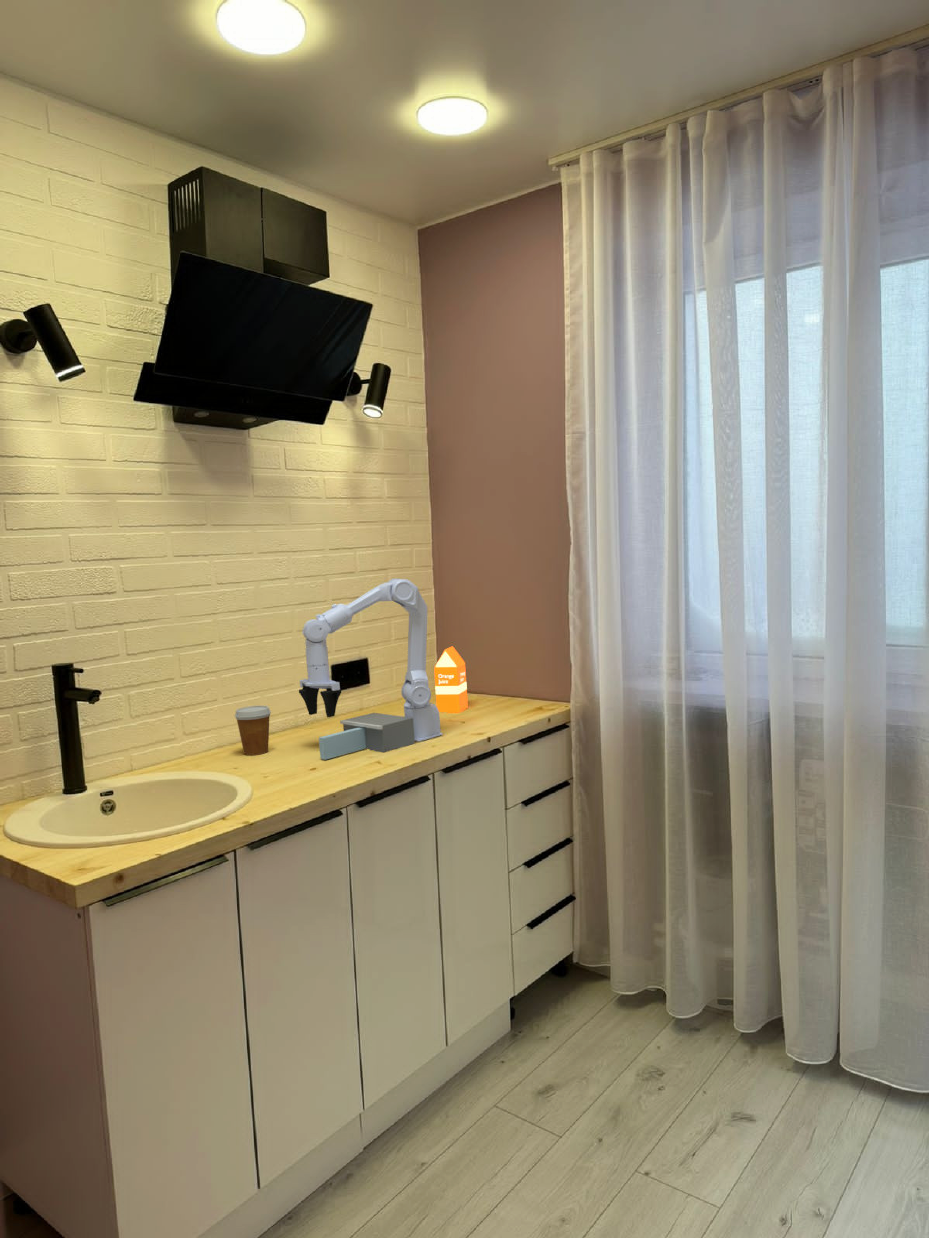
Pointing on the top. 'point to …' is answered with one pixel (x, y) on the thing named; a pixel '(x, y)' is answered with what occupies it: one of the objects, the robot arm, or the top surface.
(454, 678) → the orange juice
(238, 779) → the top surface
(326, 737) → the light blue rectangular block
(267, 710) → the disposable coffee cup
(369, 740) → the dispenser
